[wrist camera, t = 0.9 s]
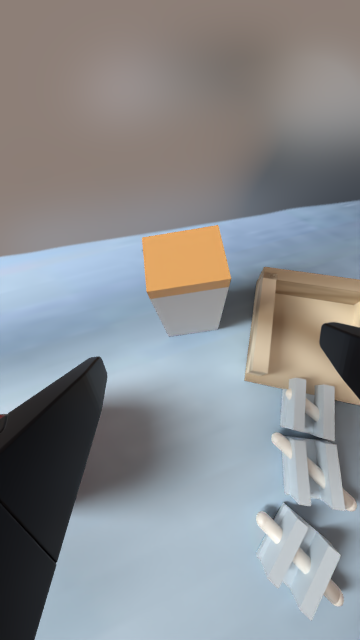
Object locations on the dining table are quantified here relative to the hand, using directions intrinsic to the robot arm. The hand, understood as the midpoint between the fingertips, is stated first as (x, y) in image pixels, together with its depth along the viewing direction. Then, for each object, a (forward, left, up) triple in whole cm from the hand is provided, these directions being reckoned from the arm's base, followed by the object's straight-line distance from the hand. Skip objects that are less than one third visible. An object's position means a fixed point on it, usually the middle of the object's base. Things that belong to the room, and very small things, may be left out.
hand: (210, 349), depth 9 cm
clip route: (-11, 0, -12) cm, 16 cm away
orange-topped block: (+5, -4, -12) cm, 14 cm away
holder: (-5, -9, -12) cm, 16 cm away
